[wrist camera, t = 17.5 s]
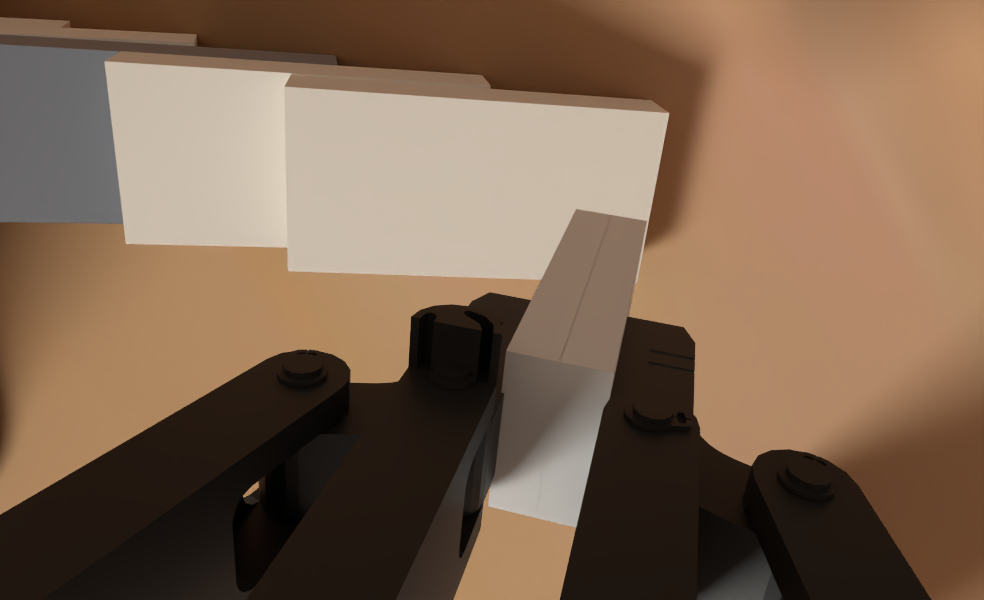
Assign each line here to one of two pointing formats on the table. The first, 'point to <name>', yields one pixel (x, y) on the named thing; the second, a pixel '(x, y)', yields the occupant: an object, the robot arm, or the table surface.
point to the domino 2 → (213, 143)
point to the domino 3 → (456, 174)
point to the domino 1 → (72, 124)
